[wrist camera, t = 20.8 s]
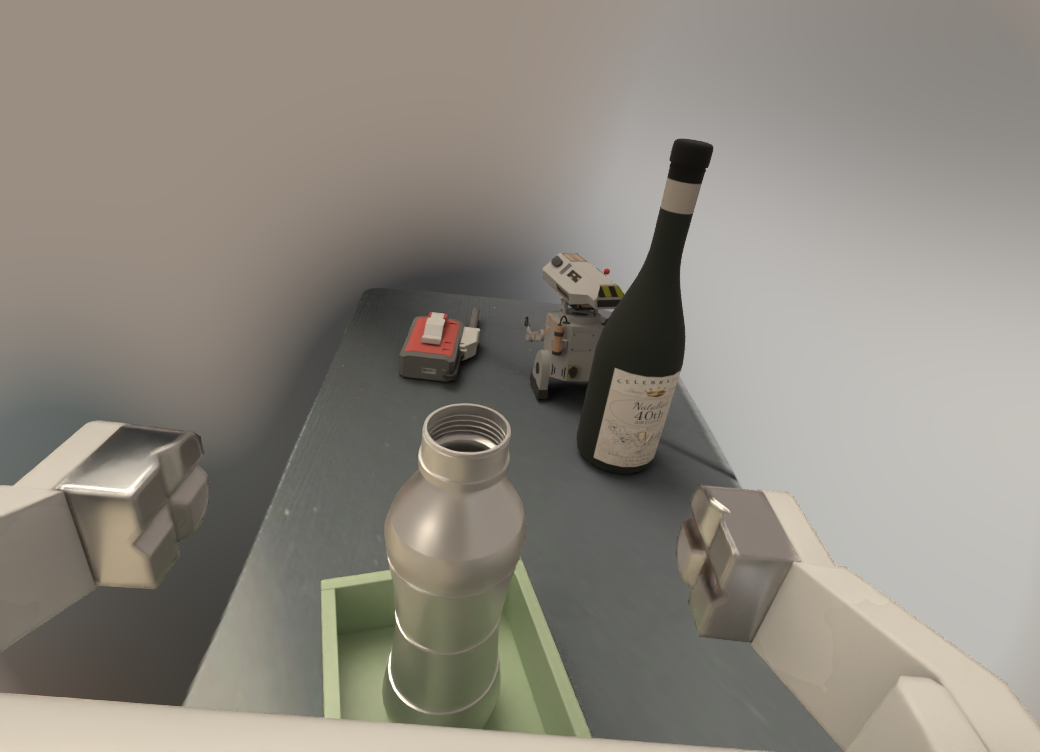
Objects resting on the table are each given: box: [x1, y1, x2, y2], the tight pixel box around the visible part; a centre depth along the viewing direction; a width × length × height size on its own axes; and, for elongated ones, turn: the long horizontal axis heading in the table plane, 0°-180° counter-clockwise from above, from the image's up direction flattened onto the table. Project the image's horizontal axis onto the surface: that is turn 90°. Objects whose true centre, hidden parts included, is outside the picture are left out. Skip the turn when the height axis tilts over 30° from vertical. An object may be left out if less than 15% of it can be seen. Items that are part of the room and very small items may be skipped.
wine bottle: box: [577, 139, 713, 474], centre depth 51 cm, size 8×8×30 cm
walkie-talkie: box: [399, 308, 480, 382], centre depth 73 cm, size 9×4×20 cm
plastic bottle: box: [382, 404, 527, 730], centre depth 29 cm, size 6×7×20 cm
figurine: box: [524, 253, 624, 399], centre depth 66 cm, size 9×12×15 cm
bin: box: [321, 557, 592, 738], centre depth 33 cm, size 14×13×5 cm
